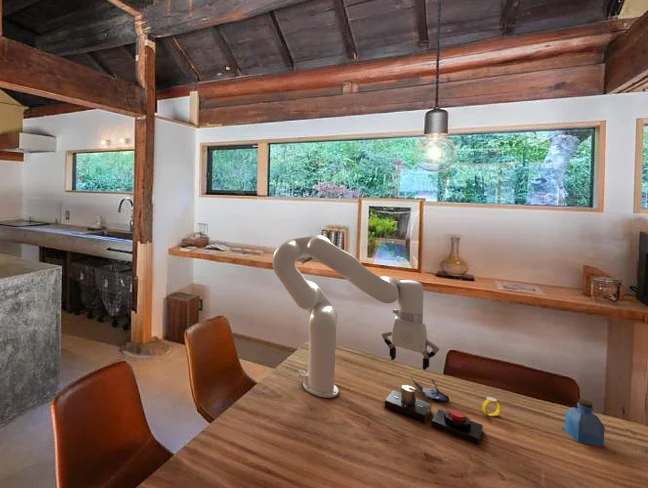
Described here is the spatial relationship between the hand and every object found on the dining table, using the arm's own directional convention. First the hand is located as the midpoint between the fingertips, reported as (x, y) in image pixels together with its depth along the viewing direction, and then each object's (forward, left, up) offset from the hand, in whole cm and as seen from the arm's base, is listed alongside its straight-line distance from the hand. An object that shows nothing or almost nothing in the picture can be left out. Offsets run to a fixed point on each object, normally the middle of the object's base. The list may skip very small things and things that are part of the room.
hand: (408, 363), depth 138 cm
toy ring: (+21, +20, -18) cm, 34 cm away
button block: (+14, +1, -17) cm, 22 cm away
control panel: (0, +1, -17) cm, 17 cm away
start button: (+14, +1, -14) cm, 20 cm away
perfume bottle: (+43, +27, -18) cm, 54 cm away
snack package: (+3, +19, -18) cm, 26 cm away
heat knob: (0, +1, -14) cm, 14 cm away
